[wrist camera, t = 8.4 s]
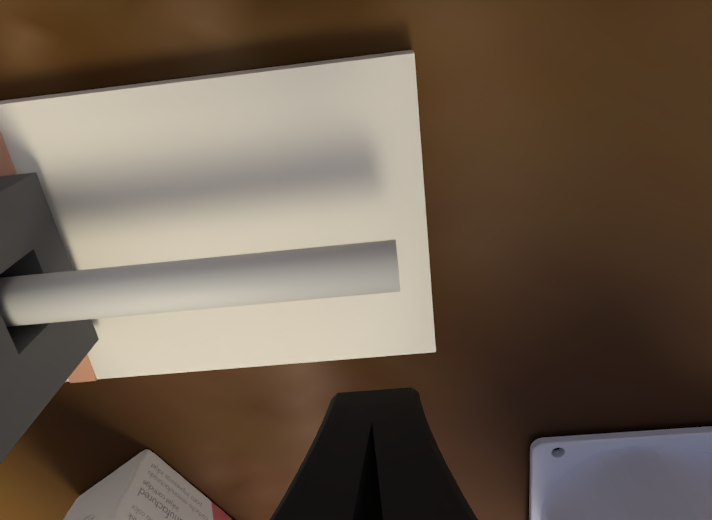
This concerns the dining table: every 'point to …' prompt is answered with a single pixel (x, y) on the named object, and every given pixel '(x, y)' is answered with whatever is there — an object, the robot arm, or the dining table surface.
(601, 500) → the robot arm
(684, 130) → the dining table surface
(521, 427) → the dining table surface
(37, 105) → the pipe stand
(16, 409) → the grey square sleeve
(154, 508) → the ink cartridge box
